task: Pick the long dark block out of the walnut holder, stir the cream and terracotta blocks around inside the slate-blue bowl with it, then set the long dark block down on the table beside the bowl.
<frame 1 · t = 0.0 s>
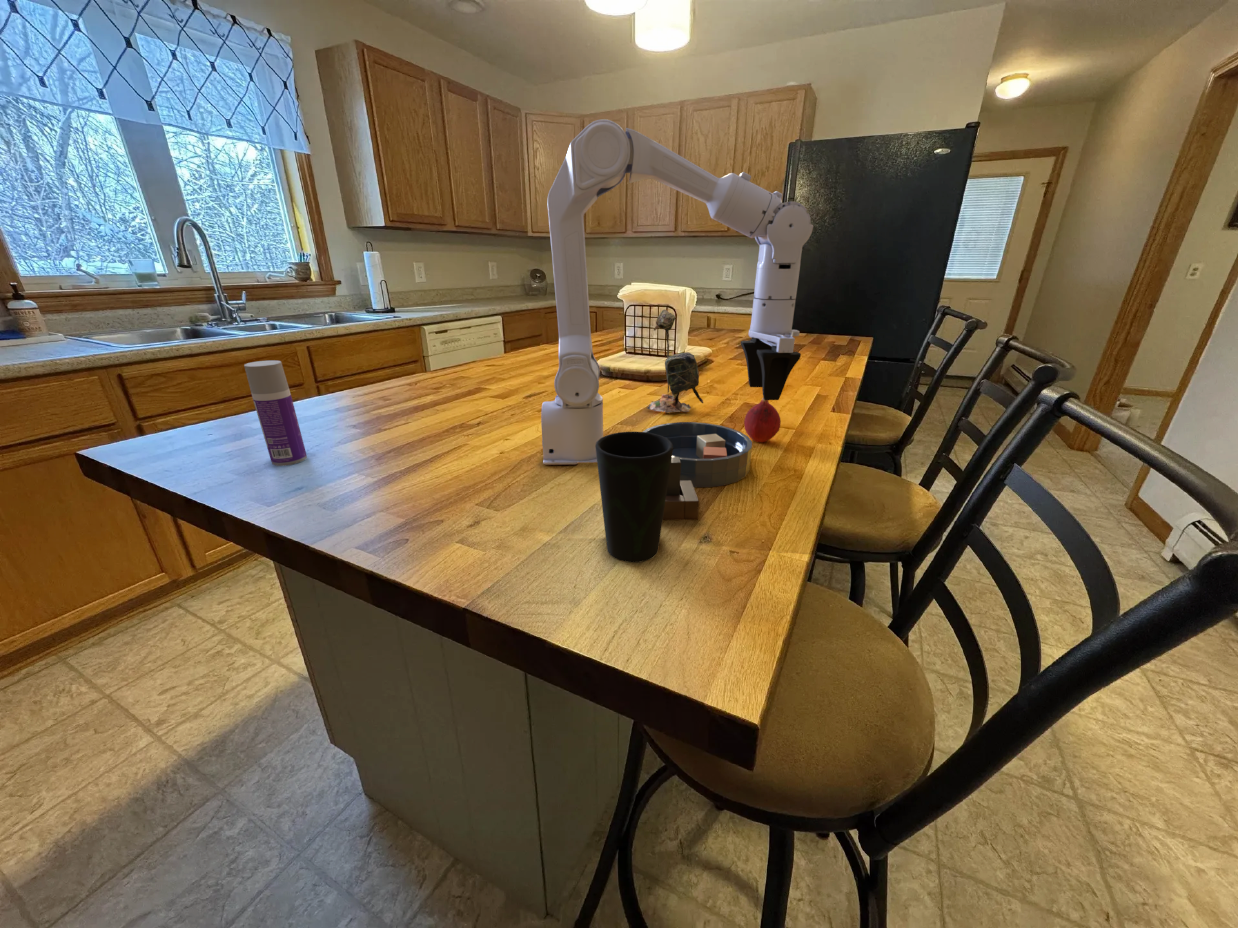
hand: (763, 392, 75), 10 cm above the kitchen island, tool pointing down, fingers open, 7 cm apart
container: (290, 461, 76), on the kitchen island
long dark block: (671, 486, 59), in the holder
bowl: (692, 467, 74), on the kitchen island
cup: (632, 549, 53), on the kitchen island
holder: (670, 512, 61), on the kitchen island
onion: (759, 444, 83), on the kitchen island
terracotta block: (713, 471, 71), point 1 cm above the kitchen island, touching bowl
cream block: (709, 457, 76), point 1 cm above the kitchen island, touching bowl
plant with pod: (674, 411, 101), on the kitchen island
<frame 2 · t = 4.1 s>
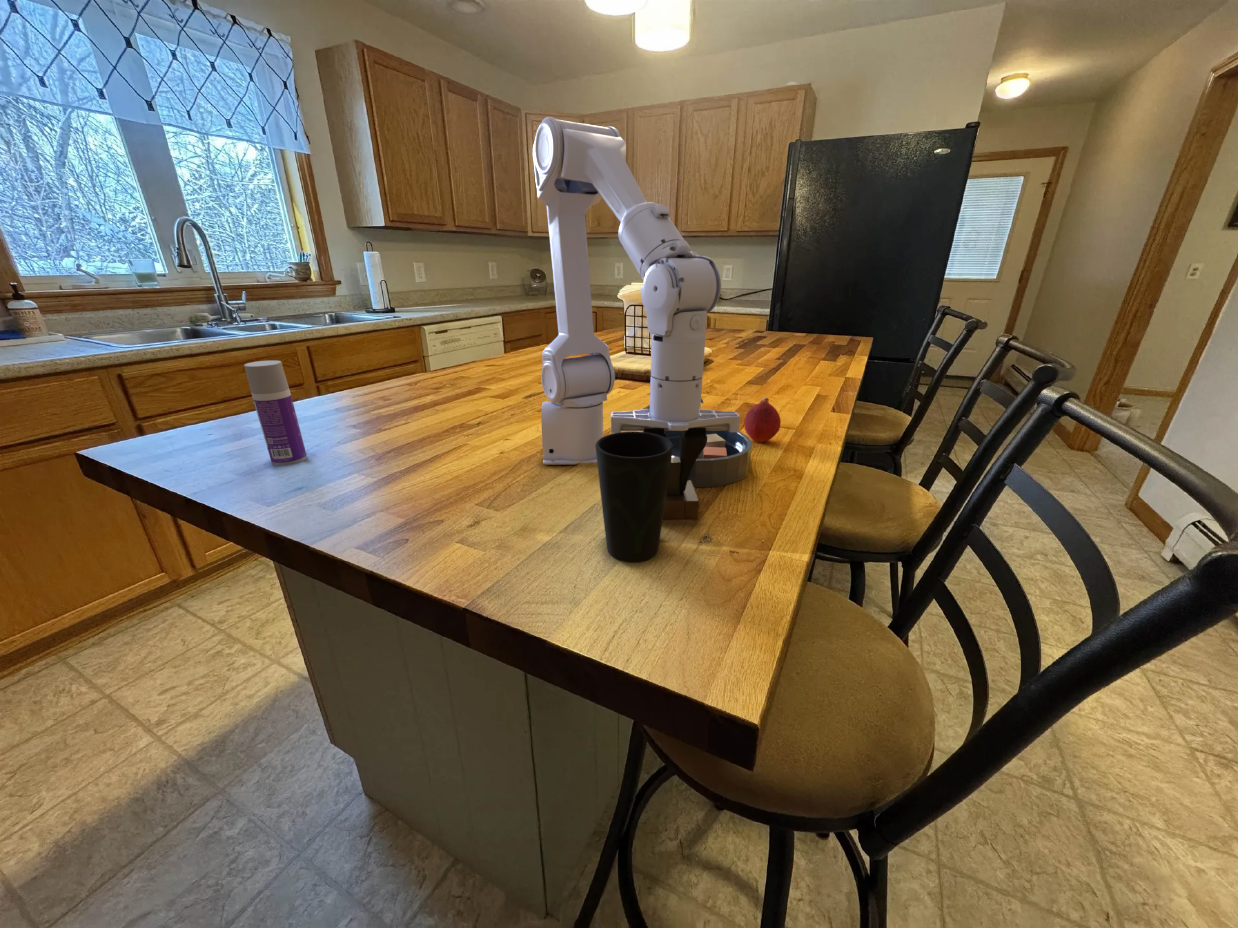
hand: (671, 487, 59), 3 cm above the kitchen island, tool pointing down, fingers closed on long dark block, 2 cm apart
long dark block: (671, 486, 59), in the holder, touching gripper
everything else where it was.
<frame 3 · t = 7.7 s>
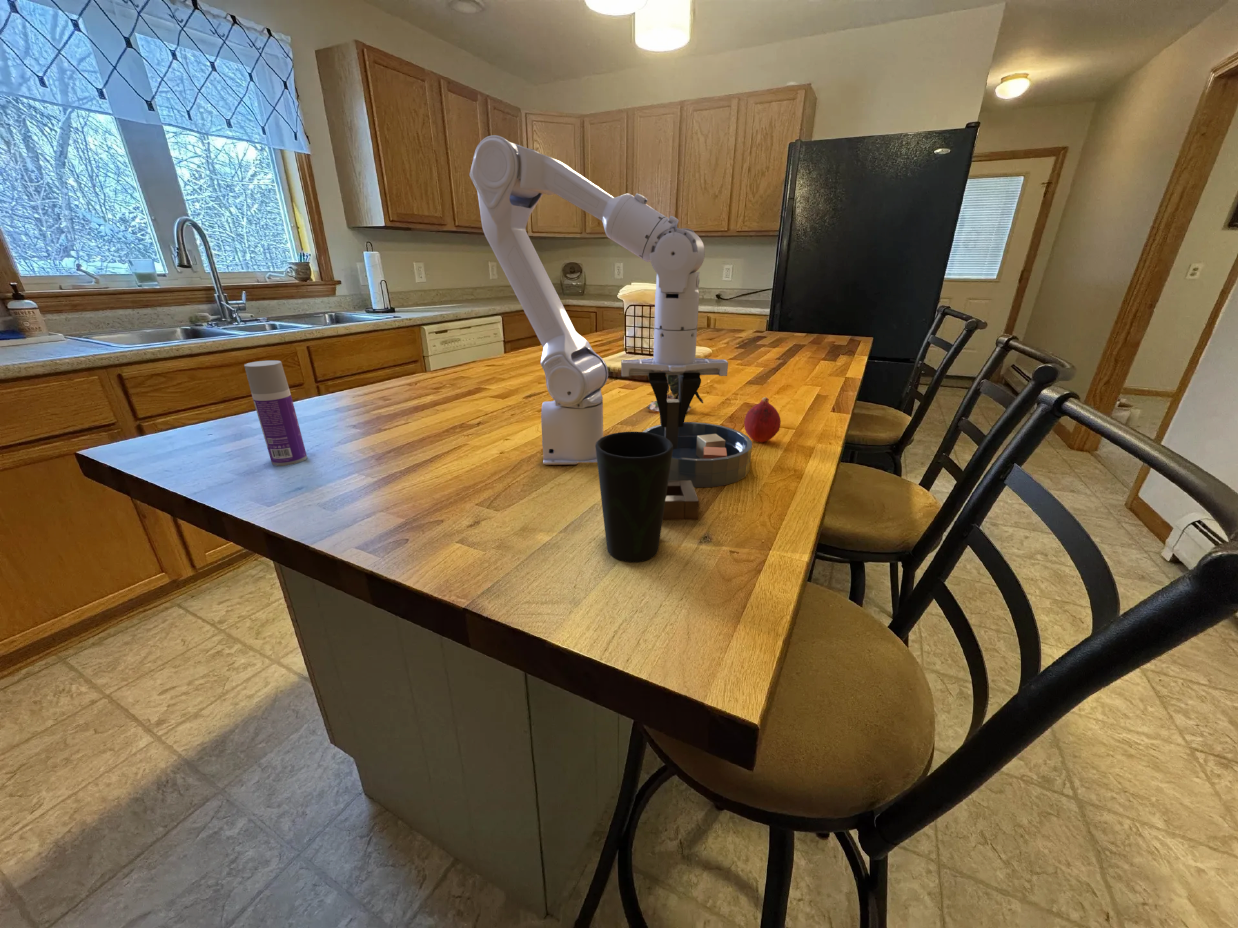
hand: (671, 424, 71), 7 cm above the kitchen island, tool pointing down, fingers closed on long dark block, 2 cm apart
long dark block: (671, 424, 71), point 7 cm above the kitchen island, touching gripper
everything else where it was.
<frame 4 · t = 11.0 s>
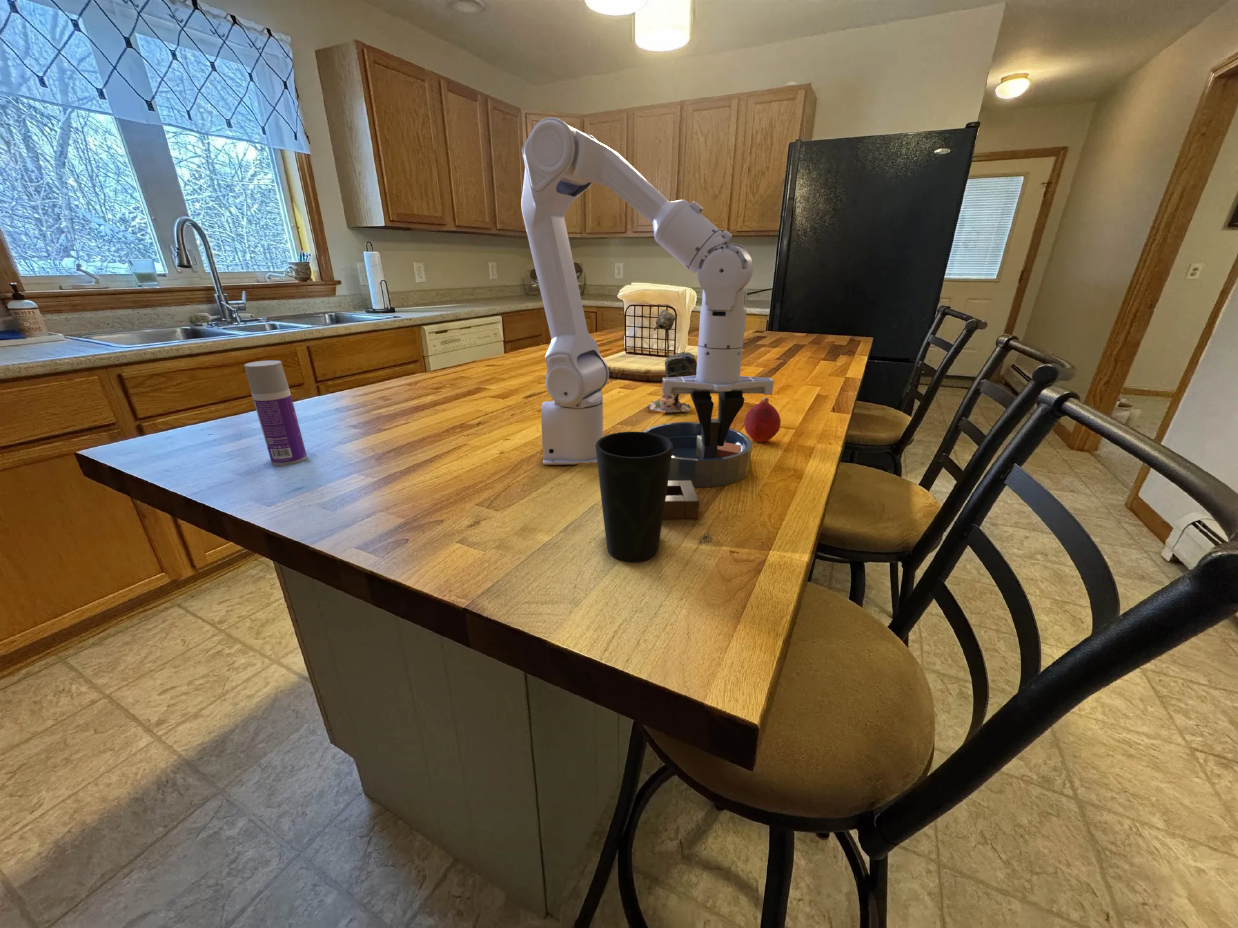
hand: (712, 443, 69), 5 cm above the kitchen island, tool pointing down, fingers closed on long dark block, 1 cm apart
long dark block: (710, 444, 69), point 5 cm above the kitchen island, touching gripper, terracotta block
terracotta block: (726, 467, 72), point 1 cm above the kitchen island, touching bowl, long dark block
everything else where it was.
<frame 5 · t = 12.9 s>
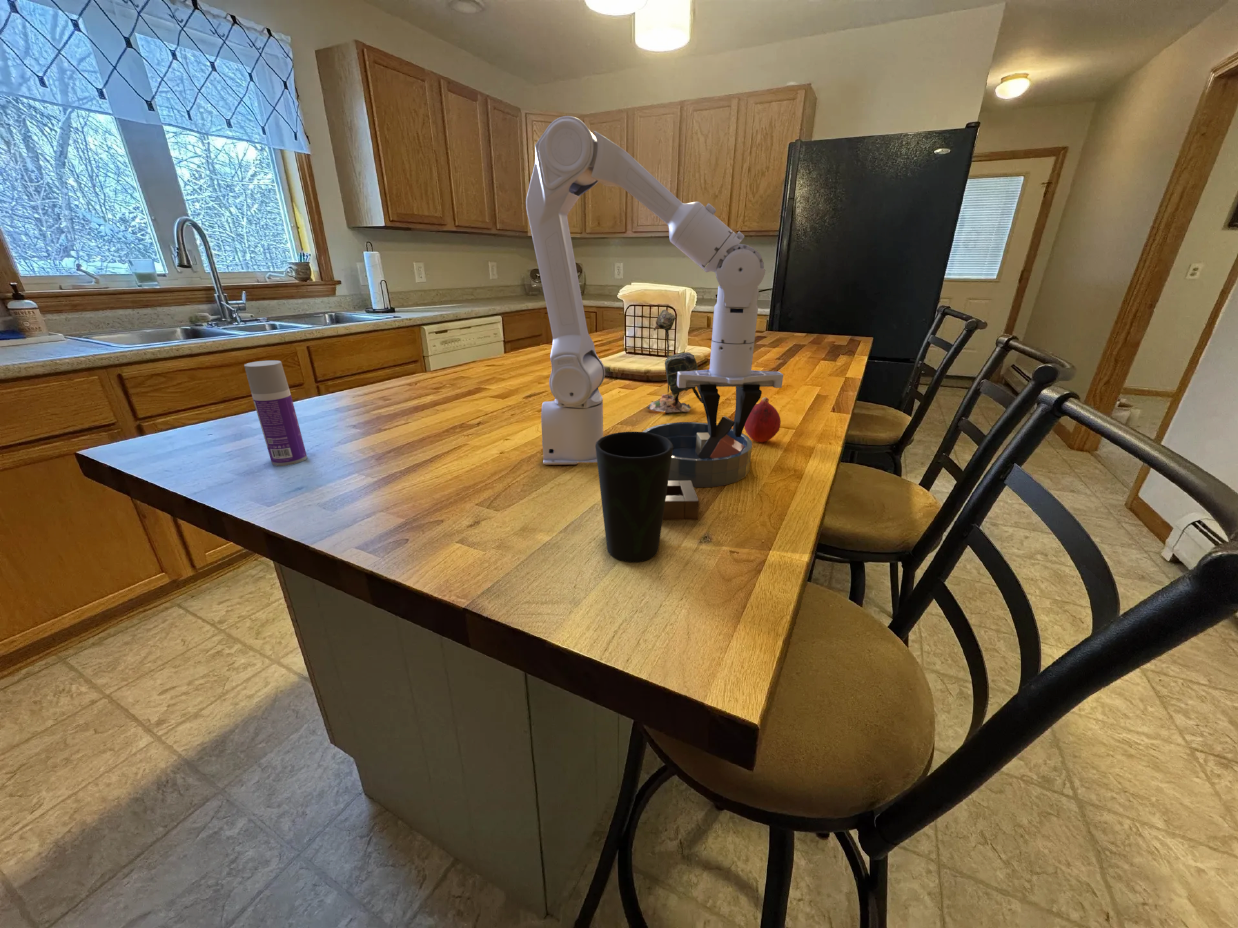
hand: (724, 435, 72), 5 cm above the kitchen island, tool pointing down, fingers closed on long dark block, 3 cm apart
long dark block: (716, 439, 73), in the bowl, point 4 cm above the kitchen island, tilted 29°, touching cream block, gripper, terracotta block
terracotta block: (721, 460, 72), point 2 cm above the kitchen island, tilted 25°, touching bowl, long dark block
cream block: (707, 455, 77), point 1 cm above the kitchen island, touching bowl, long dark block
everything else where it was.
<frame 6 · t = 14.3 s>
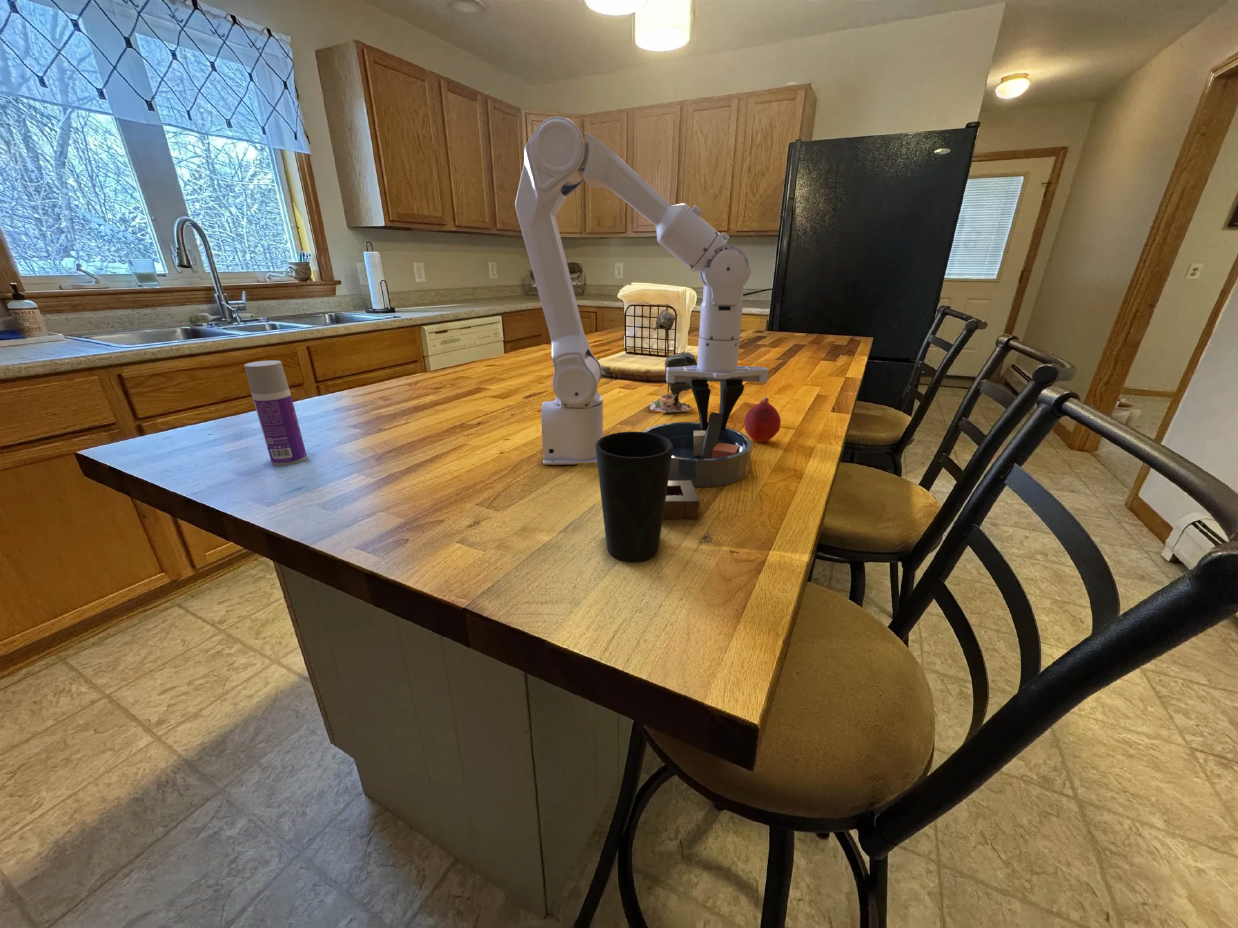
hand: (712, 428, 75), 5 cm above the kitchen island, tool pointing down, fingers closed on long dark block, 2 cm apart
long dark block: (711, 436, 73), in the bowl, point 4 cm above the kitchen island, tilted 34°, touching cream block, gripper
terracotta block: (724, 467, 72), point 1 cm above the kitchen island, touching bowl
cream block: (704, 452, 77), point 1 cm above the kitchen island, tilted 6°, touching bowl, long dark block
everything else where it was.
when the fingers open (4 cm above the kitchen island, at t = 20.6 s): long dark block drops 3 cm and tips over, on the kitchen island.
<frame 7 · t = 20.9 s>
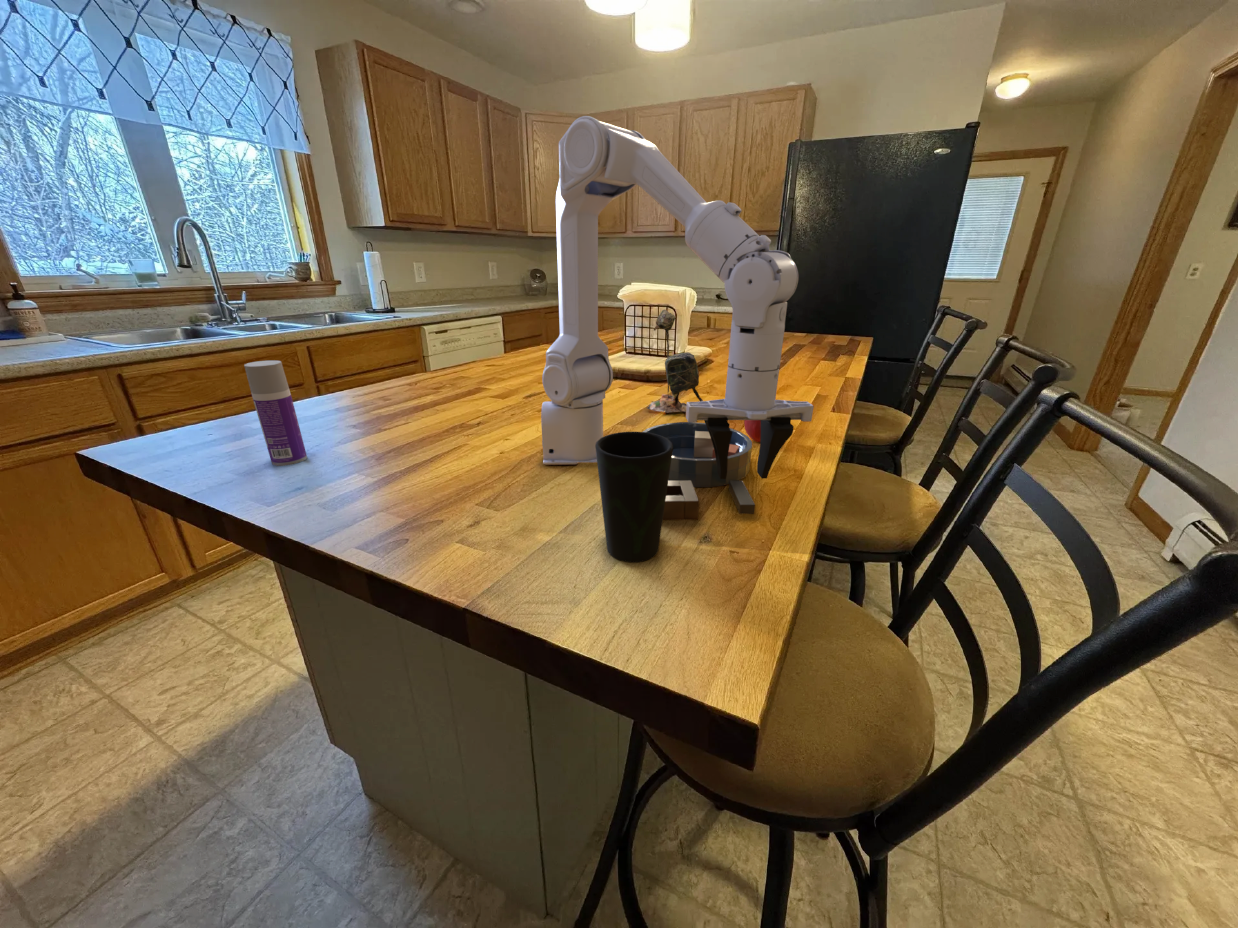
hand: (741, 475, 61), 4 cm above the kitchen island, tool pointing down, fingers open, 4 cm apart
long dark block: (740, 498, 62), on the kitchen island, tilted 90°
cream block: (704, 453, 77), point 1 cm above the kitchen island, touching bowl
everything else where it was.
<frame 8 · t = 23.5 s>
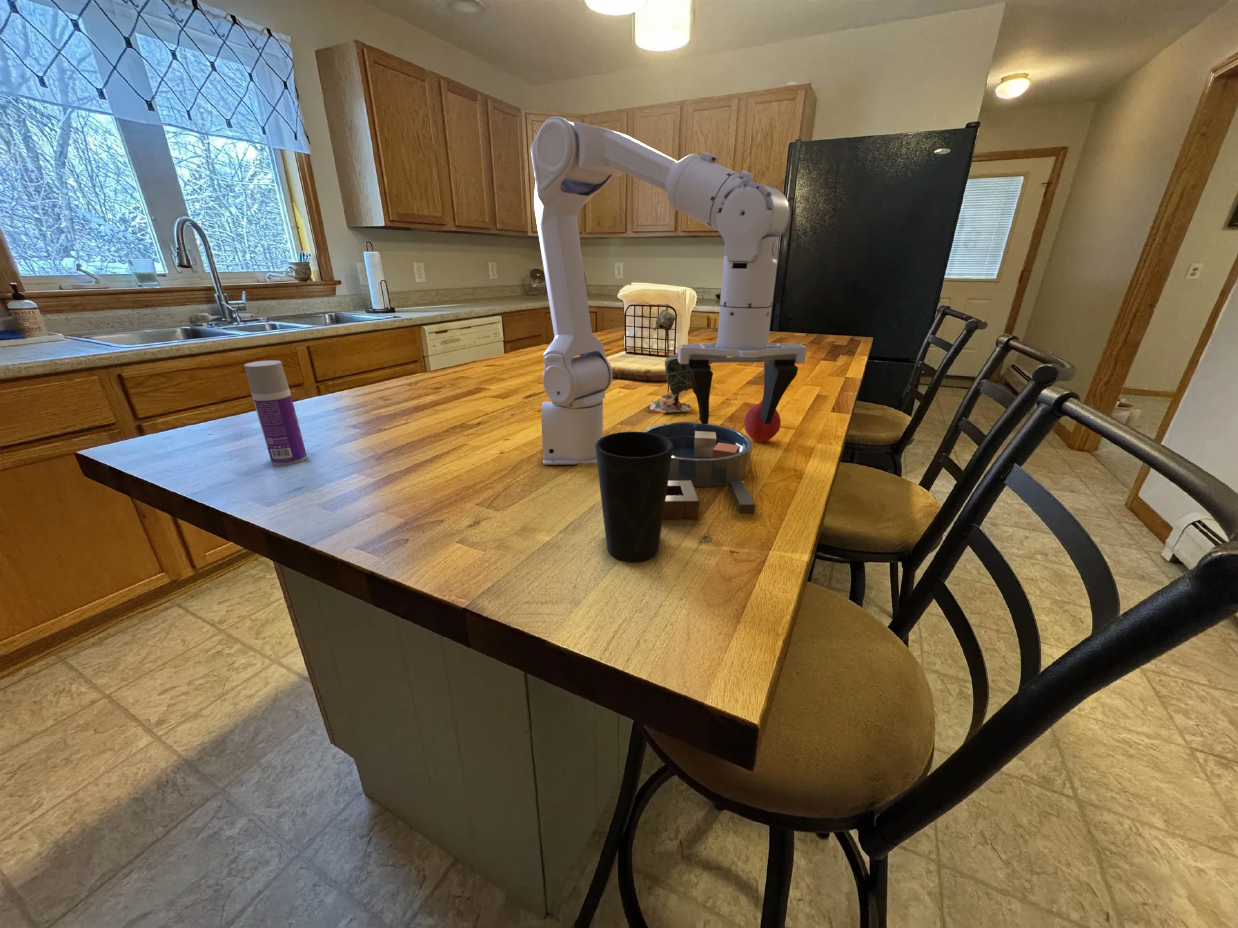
hand: (734, 421, 60), 10 cm above the kitchen island, tool pointing down, fingers open, 7 cm apart
nothing on the kitchen island moved.
at the end: terracotta block moved 2.4 cm from its start; cream block moved 1.6 cm from its start; long dark block inside the target area (1.1 cm from its centre), point 0.9 cm above the kitchen island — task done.
